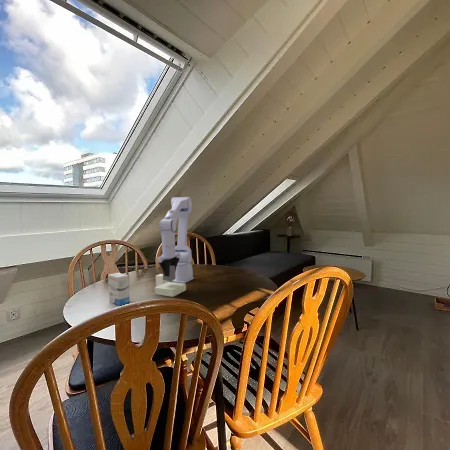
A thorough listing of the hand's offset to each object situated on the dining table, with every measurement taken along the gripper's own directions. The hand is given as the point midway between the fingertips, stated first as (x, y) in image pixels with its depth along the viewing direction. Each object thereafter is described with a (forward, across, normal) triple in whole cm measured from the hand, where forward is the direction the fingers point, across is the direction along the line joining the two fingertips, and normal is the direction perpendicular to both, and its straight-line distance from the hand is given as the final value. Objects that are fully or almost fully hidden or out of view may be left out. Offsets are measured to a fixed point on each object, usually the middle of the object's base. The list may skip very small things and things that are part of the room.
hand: (169, 274), depth 129 cm
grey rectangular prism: (+2, 0, 0) cm, 2 cm away
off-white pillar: (+8, -5, -9) cm, 13 cm away
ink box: (+8, +19, -12) cm, 24 cm away
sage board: (+8, 0, 0) cm, 8 cm away
